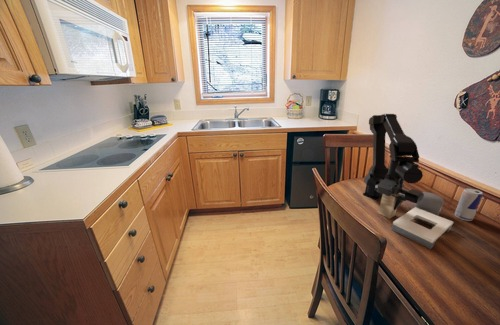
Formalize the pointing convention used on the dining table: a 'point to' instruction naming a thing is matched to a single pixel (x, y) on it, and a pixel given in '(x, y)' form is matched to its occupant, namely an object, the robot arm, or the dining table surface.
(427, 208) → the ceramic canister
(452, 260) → the dining table surface
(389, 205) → the wood peg
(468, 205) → the energy drink
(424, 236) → the hole board
